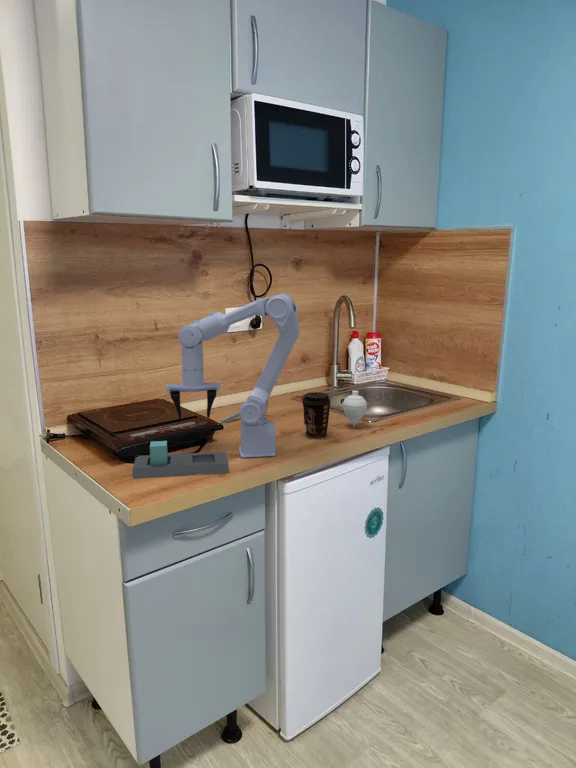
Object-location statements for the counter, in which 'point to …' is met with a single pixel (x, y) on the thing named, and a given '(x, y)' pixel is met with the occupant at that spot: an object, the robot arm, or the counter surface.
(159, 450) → the square peg
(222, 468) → the peg socket board
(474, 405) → the counter surface
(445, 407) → the counter surface
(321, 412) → the coffee cup
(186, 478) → the counter surface
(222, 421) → the caliper
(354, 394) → the spinning top
